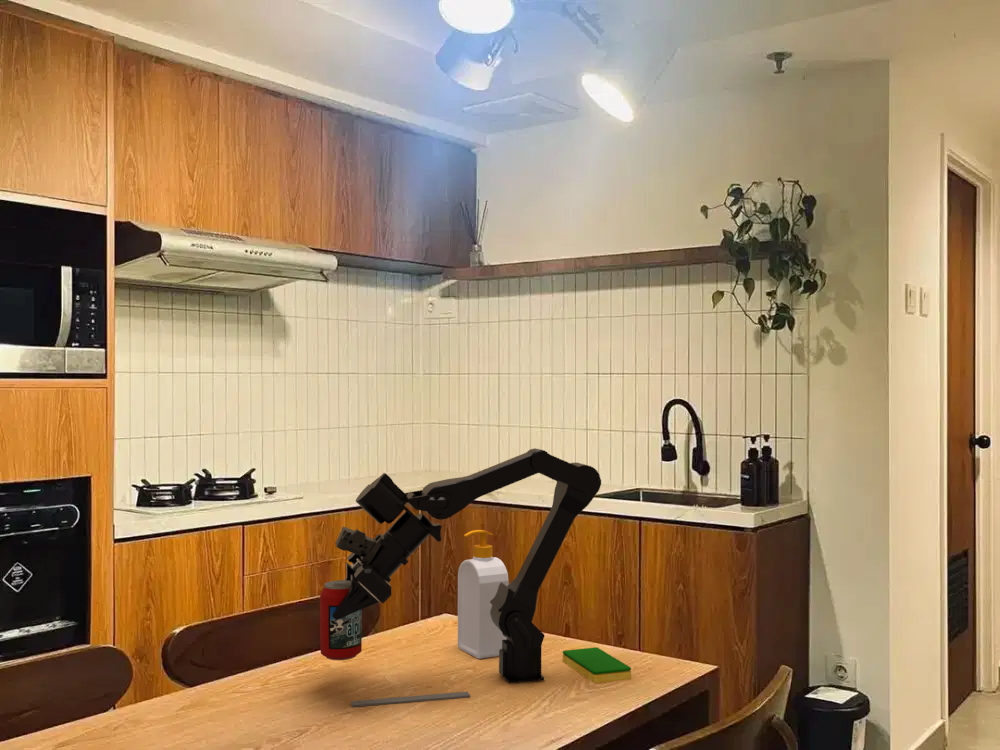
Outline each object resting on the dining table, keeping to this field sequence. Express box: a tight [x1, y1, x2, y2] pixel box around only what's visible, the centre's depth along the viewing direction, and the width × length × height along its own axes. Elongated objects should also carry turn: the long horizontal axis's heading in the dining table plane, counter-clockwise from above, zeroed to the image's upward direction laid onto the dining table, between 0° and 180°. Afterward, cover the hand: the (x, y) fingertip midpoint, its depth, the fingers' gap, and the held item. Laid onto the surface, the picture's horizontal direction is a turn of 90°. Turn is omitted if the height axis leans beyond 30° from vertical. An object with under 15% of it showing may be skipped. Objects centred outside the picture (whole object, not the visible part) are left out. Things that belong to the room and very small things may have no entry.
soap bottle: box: [457, 529, 510, 660], centre depth 182 cm, size 9×7×23 cm
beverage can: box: [319, 579, 363, 661], centre depth 159 cm, size 7×7×12 cm
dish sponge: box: [562, 646, 632, 684], centre depth 171 cm, size 7×14×2 cm, turn 20°
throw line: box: [350, 691, 471, 708], centre depth 154 cm, size 19×2×1 cm, turn 105°
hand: (332, 612), depth 159 cm, fingers closed on beverage can, 7 cm apart
